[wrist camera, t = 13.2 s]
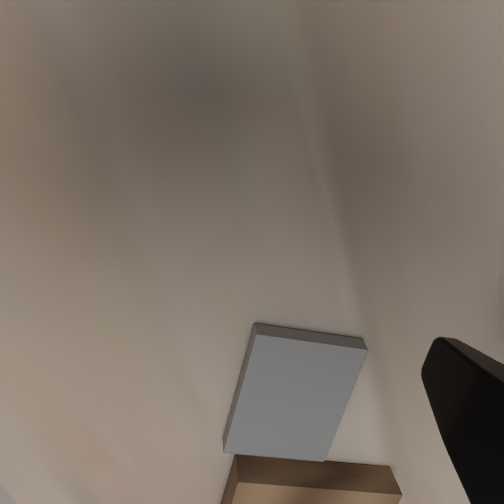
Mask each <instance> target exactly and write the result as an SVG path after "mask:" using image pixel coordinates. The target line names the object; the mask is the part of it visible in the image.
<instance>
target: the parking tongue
mask: <svg viewBox="0 0 504 504" xmlns="http://www.w3.org/2000/svg"><path fill="white" fill-rule="evenodd" d="M367 352H368V348H367V347H366V345H365V343H364V341H363V339H360V338H353V337H346V336H339V335H332V334H325V333H318V332H311V331H304V330H297V329H290V328H284V327H277V326H270V325H263V324H256V323H254V326H253V330H252V334H251V337H250V341H249V344H248V348H247V352H246V355H245V359H244V363H243V366H242V370H241V374H240V377H239V381H238V385H237V388H236V392H235V395H234V399H233V403H232V406H231V410H230V414H229V417H228V421H227V425H226V428H225V432H224V436H223V453H231V454H242V455H253V456H264V457H275V458H286V459H298V460H309V461H320V462H324V461H325V458H326V456H327V453H328V451H329V448H330V446H331V443H332V440H333V438H334V435H335V433H336V430H337V428H338V425H339V423H340V420H341V418H342V415H343V413H344V410H345V408H346V405H347V403H348V400H349V398H350V395H351V393H352V390H353V388H354V385H355V383H356V380H357V378H358V375H359V373H360V370H361V368H362V365H363V362H364V360H365V357H366V355H367Z"/></svg>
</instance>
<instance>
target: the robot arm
mask: <svg viewBox="0 0 504 504" xmlns="http://www.w3.org/2000/svg"><path fill="white" fill-rule="evenodd" d="M421 376H422V381H423V384H424V387H425V390H426V393H427V396H428V399H429V402H430V405H431V408H432V411H433V414H434V417H435V420H436V423H437V425H438V428H439V431H440V434H441V437H442V440H443V442H444V445H445V447H446V449H447V452H448V454H449V456H450V459H451V461H452V463H453V465H454V468H455V470H456V472H457V474H458V476H459V479H460V481H461V483H462V485H463V488H464V490H465V492H466V494H467V496H468V499H469V501H470V503H471V504H504V364H502V363H500V362H498V361H496V360H494V359H493V358H491V357H489V356H487V355H485V354H483V353H482V352H480V351H478V350H476V349H474V348H472V347H471V346H469V345H467V344H465V343H463V342H461V341H459V340H457V339H454V338H447V337H438V338H436V339H435V340H434V341H433V343H432V345H431V347H430V350H429V352H428V354H427V357H426V359H425V361H424V364H423V366H422V370H421Z"/></svg>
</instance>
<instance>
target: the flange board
mask: <svg viewBox="0 0 504 504" xmlns="http://www.w3.org/2000/svg"><path fill="white" fill-rule="evenodd" d="M401 497H402V493H401V491H400V488H399V486H398V484H397V482H396V479H395V477H394V475H393V473H392V470H391V468H390V467H385V466H374V465H363V464H352V463H340V462H329V461H324V462H320V461H309V460H298V459H286V458H275V457H264V456H253V455H242V454H235V457H234V461H233V464H232V467H231V471H230V474H229V478H228V481H227V484H226V488H225V491H224V495H223V498H222V501H221V504H398V503H399V501H400V499H401Z"/></svg>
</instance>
